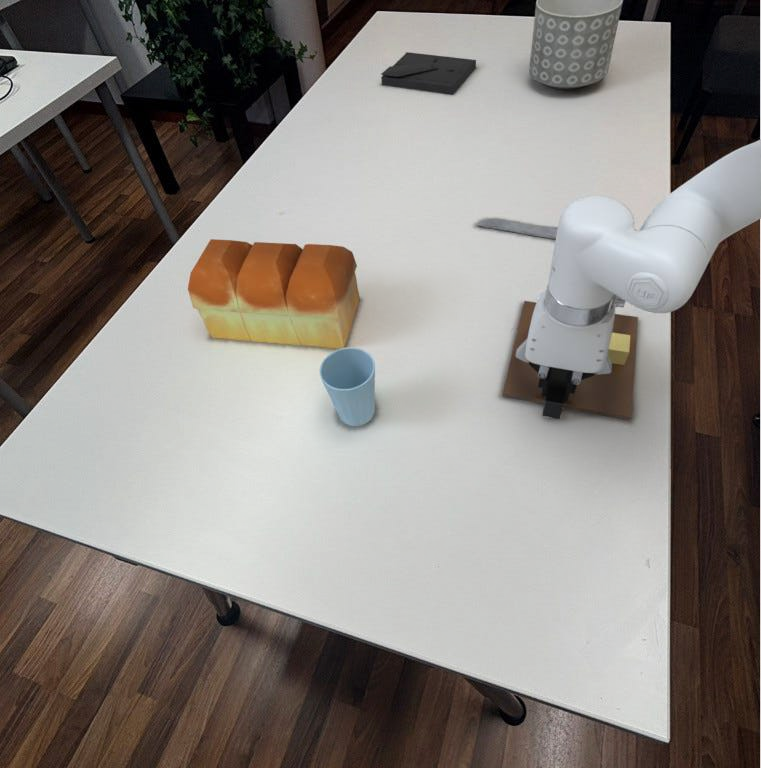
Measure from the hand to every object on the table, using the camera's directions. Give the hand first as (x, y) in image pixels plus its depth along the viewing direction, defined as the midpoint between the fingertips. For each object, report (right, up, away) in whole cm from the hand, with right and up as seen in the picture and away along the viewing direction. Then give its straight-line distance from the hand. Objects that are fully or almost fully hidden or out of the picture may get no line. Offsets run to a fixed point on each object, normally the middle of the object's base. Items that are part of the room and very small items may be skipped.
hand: (555, 390), depth 81 cm
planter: (+22, +78, +61) cm, 101 cm away
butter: (+8, +6, +5) cm, 11 cm away
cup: (-29, -3, +4) cm, 29 cm away
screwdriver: (+2, +3, +3) cm, 5 cm away
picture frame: (-12, +84, +70) cm, 111 cm away
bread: (-42, +12, +18) cm, 47 cm away
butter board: (+4, +5, +6) cm, 9 cm away
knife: (+6, +30, +25) cm, 40 cm away
